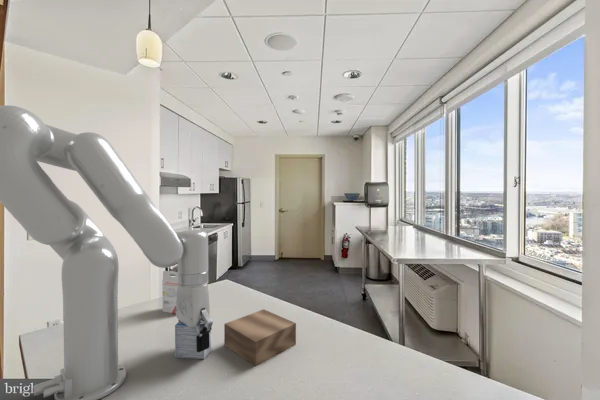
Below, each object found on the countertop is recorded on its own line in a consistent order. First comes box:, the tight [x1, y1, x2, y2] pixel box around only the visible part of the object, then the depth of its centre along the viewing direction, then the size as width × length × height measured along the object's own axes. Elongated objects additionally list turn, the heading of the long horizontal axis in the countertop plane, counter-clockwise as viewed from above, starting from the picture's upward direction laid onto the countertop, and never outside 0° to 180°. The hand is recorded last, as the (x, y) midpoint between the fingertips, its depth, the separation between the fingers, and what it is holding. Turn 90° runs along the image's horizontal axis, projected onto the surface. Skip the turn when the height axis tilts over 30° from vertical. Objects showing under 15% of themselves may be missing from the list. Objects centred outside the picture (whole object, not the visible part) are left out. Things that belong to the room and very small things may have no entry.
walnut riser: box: [223, 309, 297, 367], centre depth 80 cm, size 14×14×6 cm
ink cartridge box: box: [161, 270, 178, 315], centre depth 103 cm, size 9×5×15 cm, turn 73°
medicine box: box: [174, 320, 212, 360], centre depth 75 cm, size 8×4×9 cm, turn 85°
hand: (193, 342), depth 75 cm, fingers open, 9 cm apart
